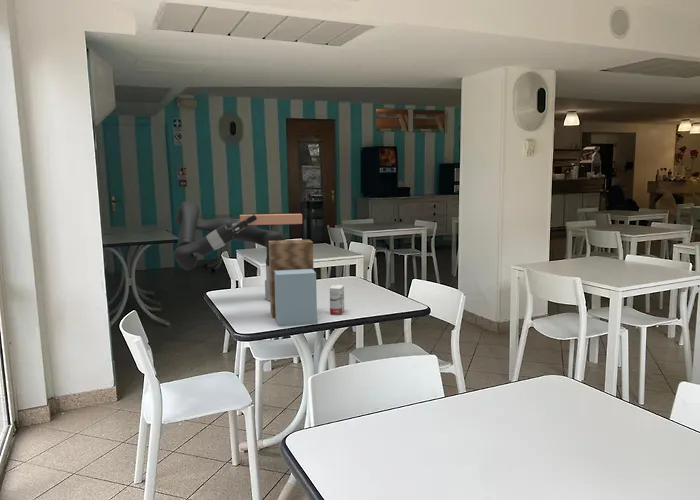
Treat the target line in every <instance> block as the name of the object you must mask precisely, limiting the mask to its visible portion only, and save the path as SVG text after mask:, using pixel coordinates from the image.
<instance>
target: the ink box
mask: <svg viewBox="0 0 700 500" xmlns="http://www.w3.org/2000/svg"><path fill="white" fill-rule="evenodd" d="M344 311H345V284H333V285H331V286H330V287H329V315H337V316H338V315H339V316H341V314H342V313H343V312H344Z"/></svg>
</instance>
